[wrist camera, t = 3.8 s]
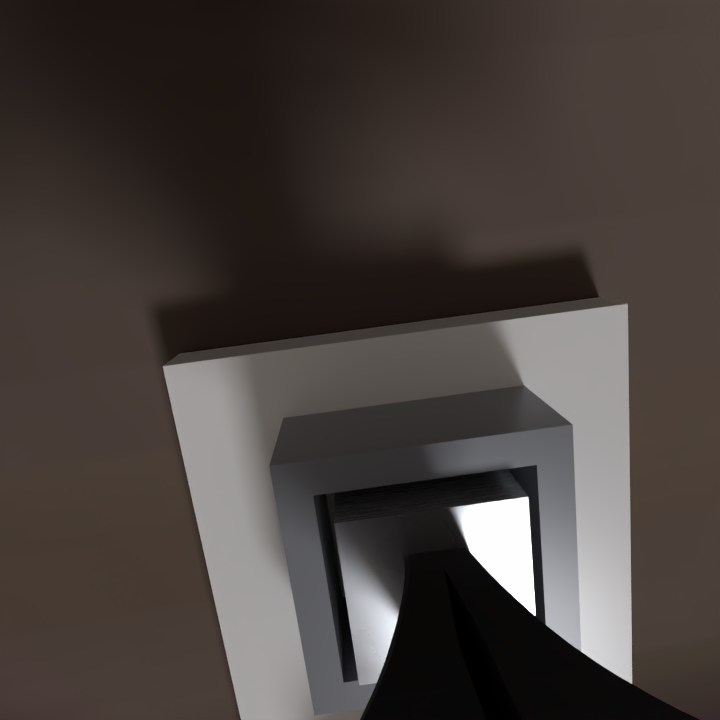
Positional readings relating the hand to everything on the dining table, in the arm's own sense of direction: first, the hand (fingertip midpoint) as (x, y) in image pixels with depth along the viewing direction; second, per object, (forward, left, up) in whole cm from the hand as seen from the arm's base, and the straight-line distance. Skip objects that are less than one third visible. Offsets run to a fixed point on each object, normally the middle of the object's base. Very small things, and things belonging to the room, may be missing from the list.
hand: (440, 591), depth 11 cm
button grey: (0, 0, -3) cm, 3 cm away
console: (-6, 0, -5) cm, 8 cm away
